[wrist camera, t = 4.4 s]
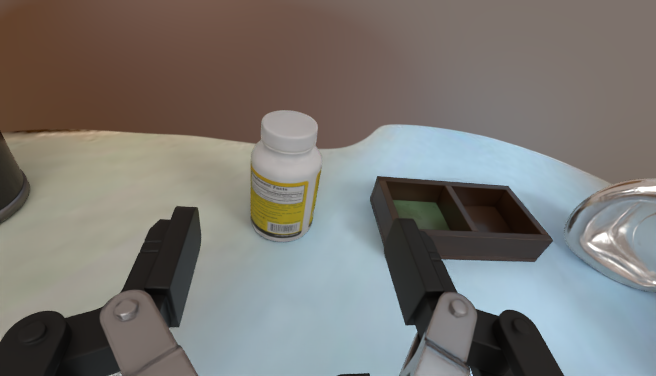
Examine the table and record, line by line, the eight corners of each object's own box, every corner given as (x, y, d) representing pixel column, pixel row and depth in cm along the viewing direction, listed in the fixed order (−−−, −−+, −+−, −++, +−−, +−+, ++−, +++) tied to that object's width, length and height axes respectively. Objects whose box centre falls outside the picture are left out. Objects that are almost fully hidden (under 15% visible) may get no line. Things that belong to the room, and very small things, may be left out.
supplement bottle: (282, 193, 32) (292, 99, 26) (323, 223, 29) (344, 128, 23) (236, 218, 28) (235, 116, 22) (278, 255, 26) (290, 152, 20)
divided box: (369, 198, 33) (377, 175, 31) (494, 206, 36) (508, 185, 34) (387, 257, 27) (397, 233, 26) (534, 262, 30) (554, 240, 28)
